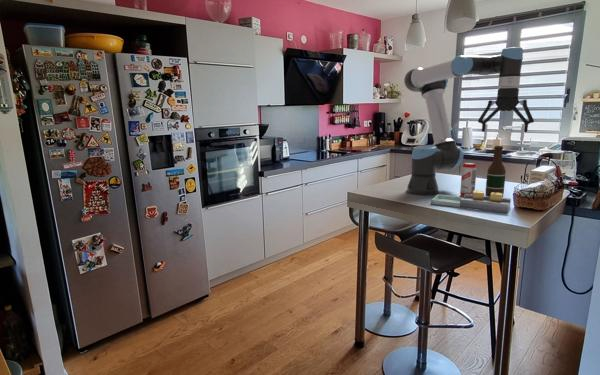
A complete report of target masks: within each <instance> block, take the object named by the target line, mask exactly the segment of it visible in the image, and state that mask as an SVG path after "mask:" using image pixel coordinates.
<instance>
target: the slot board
mask: <svg viewBox="0 0 600 375" xmlns="http://www.w3.org/2000/svg"><path fill="white" fill-rule="evenodd" d="M511 199H512V198H509V197H502V203H500V202H491V201H490V196H486V195H484V200H483V201H482V200H473V199H472V194H465V195H464V198H461V199H460V209H468V208H469V209H470V210H476V209H477V210H478V211H484V212H492V213H500V214H501V213H502V214H509V210H510V209H511V201H512V200H511ZM469 209H468V210H469ZM477 210H476V211H477Z"/></svg>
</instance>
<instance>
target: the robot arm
mask: <svg viewBox="0 0 600 375" xmlns="http://www.w3.org/2000/svg"><path fill="white" fill-rule="evenodd" d="M523 52H524V50H523V48H522V47H521V46H511V47H510V46H509V47H505V48H502V50H501V53H500V54H498V55H466V54H464V55H457V56H455V57H454V58H453V59H451V60H448V61H445V62H441V63H438V64H435V65H430V66H427V67H424V68H422V67H416V68H413V69H410V70H408V71H407V72H406V74H404V75H405V76H404V78H403V82H404V86H405V87H406V88H407V89H408V90H409V91H411V92H417V93H421V98H423V99H424V100H425V104H426V107H427V113H428V114H427V115H428V118H429V122H430V123H429V124H430V128H431V133H432V134H431V135H432V139H433V144H425V145H424V144H423V145H419V146H415V147H414V148H413V149H412V153H411V176H410V178H409V181H408V184H407V188H406V191H407V193H410V194H413V195H421V196H427V195H428V196H433V195H438V193H439V185H438V183H437V179H436V174H437V173H436V172H437V171H441V170H443V171H444V170H452V169H457V168H459V166H460V165H462V162H463V160H464V151H463V149H462V147H461V146H459V145H457V143H456V140H455V139H453V138H452V135H451V130H450V124H449V121H448V120H449V119H448V114H447V109H446V104H445V99H444V93H445V92H446V90H445V89H446V88H447V87H448V82H449V79H453V78H454V79H455V78H457V77H463V76H469V75H471V76H472V75H479V76H489V75H497V74H498V86H497V87H498V89H497V94H496V95H497V96H496V100H491V99H490V100H488V102H487V105H486V107H485V108H484V110H483V111H482V114H481V115H480V117H479V118H478V120H477V122H478V123H479V124H482V126H481V132H483V134H484V136H483V140H484V141H486V140H487V134H488V125H489V124H488V122H489V121H490V120H491V119H492V118H493V117H494V116H495V115H496V114H497V113H498V112H499V111H501V112H512V111H513V112H514V113H515V114H516V115H517V116H518V118H519V119H520V120H521V121H522V122H523V123H522V124H521V128H520V141H524V137H525V133H527V132H528V129H529V124H533V123H534V121H535V120H534V117H533V116H532V114H531V111H530V109H529V107H528V100H527V99H521V100H519V93H520V88H519V87H520V83H521V74H522V65H523V60H524V55H523V54H524V53H523ZM519 104H520V105H521V106H522V108H523V110H524V112H525V115H526V117H527V119H528V120H527V119H526V117H525V116H524V115H523V114H522V112H520V110H519V109H518V108H517V106H518V105H519ZM494 105H496V108H495V109H494V110H493V111H492V112H491V113H490V114H489V115H488V116H487V117H486V115H487V114H488V112H489V110H490V108H491V107H492V106H494ZM485 117H486V118H485ZM484 118H485V119H484Z"/></svg>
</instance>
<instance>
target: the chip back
mask: <svg viewBox="0 0 600 375" xmlns="http://www.w3.org/2000/svg"><path fill="white" fill-rule="evenodd" d="M484 196H485V192H484V190H475V191H473V193H472V199H473V200H482V201H483V200H484Z"/></svg>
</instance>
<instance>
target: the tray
mask: <svg viewBox="0 0 600 375" xmlns="http://www.w3.org/2000/svg"><path fill="white" fill-rule="evenodd" d="M461 198H464V197H463V196H459V195H457V196H455V195H448V194H447V195H446V194H438V193H437V194H435V196H434V197H433V198H432V199H430V204H431V205H437V206H443V207H449V208H450V207H452V208H457V209H458V208H460V199H461ZM460 209H461V208H460Z"/></svg>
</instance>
